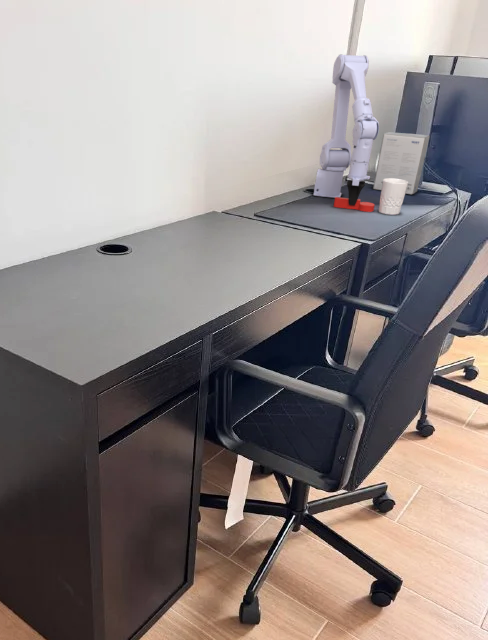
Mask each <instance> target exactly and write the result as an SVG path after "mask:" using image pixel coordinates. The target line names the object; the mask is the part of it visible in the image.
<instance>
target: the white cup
mask: <svg viewBox="0 0 488 640" xmlns="http://www.w3.org/2000/svg"><path fill="white" fill-rule="evenodd" d="M407 185H408V181H405V180H401V179H393V178H387V179H383V183H382V189H381V190H380V195H379V196H380V197H379V205H378V212H379V213H380V214H383V215H389V216H390V215H391V216H395V215H399V214H400V213H401V210H402V205H403V203H404V200H405V196H406V194H405V193H406V189H407Z"/></svg>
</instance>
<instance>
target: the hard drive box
mask: <svg viewBox="0 0 488 640" xmlns="http://www.w3.org/2000/svg"><path fill="white" fill-rule="evenodd" d="M429 141H430V135H427V134H415V133H407V132H406V133H405V132H402V133H401V132H393V131H388V132H383V133H382V139H381V144H380V149H379V155H378V161H377V165H376V171H375V176H374V180H373V186H372V189H373V190H377V191H381V189H382V183H383V179H387V178H393V179H401V180H405V181H408V185H407V189H406V193H405V195H415V194H416V193H417V192H418V190H419V184H420V180H421V176H422V173H423V172H422V171H423V167H424V163H425V159H426V154H427V151H428V150H427V149H428V144H429Z"/></svg>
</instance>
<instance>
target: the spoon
mask: <svg viewBox="0 0 488 640" xmlns="http://www.w3.org/2000/svg"><path fill="white" fill-rule="evenodd" d="M375 206H376V205H375V203H373V202H369V201H361V199H360V198H358V199H357V202H356V205H349V197H335V198H334V202H333V208H340V209H347V210H357V211H361V212H364V213H372V212H374V210H375Z"/></svg>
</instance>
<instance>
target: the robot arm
mask: <svg viewBox="0 0 488 640" xmlns="http://www.w3.org/2000/svg"><path fill="white" fill-rule="evenodd" d="M369 66H370V61H369V57H368V55H365V54H363V55H356V54H355V55H354V54H353V55H352V54H341V53H340V54H338V55H337V56H336V58H335V60H334V63H333V67H332V68H333V69H332V81H331V83H332V84H333V85H334V86H335V90H334V102H333V112H332V122H331V134H330V139H329V140H327V141H326V142H325V143H324V144H323V145H322V146H321V152H320V155H319V166H320V167H321V168H318V169H317V171H316V177H315V182H314V185H313V186H314V187H313V196H315V197H324V198H332V199H333V198H334V199H335V197H341V196H342V194H343V193H342V192H341V190H342V184H343V178H344V173H345V171H347V169H349V170H348V174H347V178H348V179H349V180H347V182H346V186H347V191H348V198H349V205H356V202H357V199H359V196H360V195H361V192H362V190H363V189H364V187H365V184H366V180H370V178H371V176H370V175H368V169H369V164H370V159H371V154H372V149H373V144H374V141H375V140H376V139H377V137H378V135H379V131H380V124H379V123H380V122H379V121H378V120H377V119H376V117H374V113H373V107H372V102H371V99H370V98H369V97H367V89H366V88H367V87H366V76H367V74H368V70H369ZM351 92H352V95H353V99H354V102H353V103H352V106H351V107H352V114H353V121H354V125H353V129H352V146H351V144H350V143H349V142H348V141H347V140H346V138H347V128H348V127H347V126H348V117H349V109H350V108H349V106H350V97H351ZM341 198H342V197H341Z"/></svg>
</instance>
